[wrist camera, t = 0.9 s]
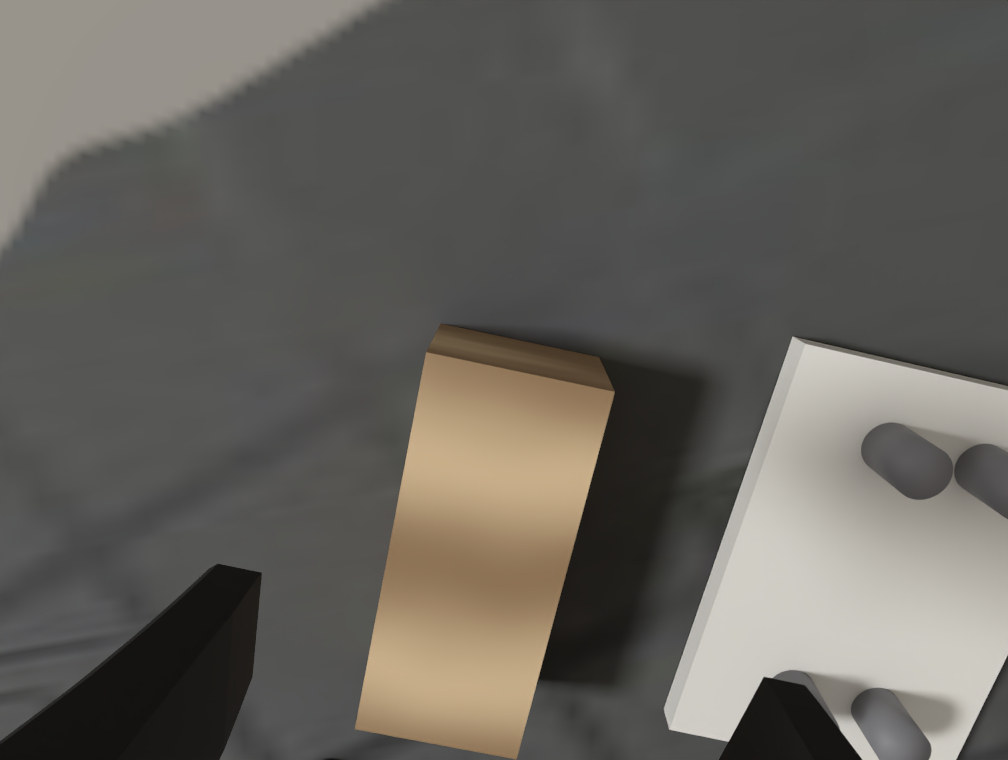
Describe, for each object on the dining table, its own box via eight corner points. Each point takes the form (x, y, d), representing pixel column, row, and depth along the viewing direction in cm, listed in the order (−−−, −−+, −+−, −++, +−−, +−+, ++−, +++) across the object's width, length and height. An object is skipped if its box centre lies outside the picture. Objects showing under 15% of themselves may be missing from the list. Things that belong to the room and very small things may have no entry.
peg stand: (927, 762, 26) (978, 834, 23) (663, 709, 26) (682, 776, 23) (1098, 407, 22) (1184, 441, 20) (792, 336, 22) (834, 360, 19)
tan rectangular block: (516, 672, 26) (516, 759, 22) (379, 645, 26) (354, 729, 22) (597, 355, 23) (615, 391, 19) (441, 321, 22) (426, 352, 19)
